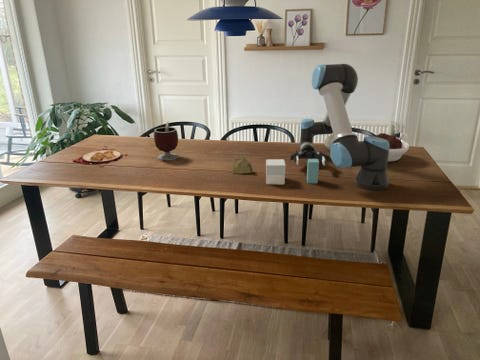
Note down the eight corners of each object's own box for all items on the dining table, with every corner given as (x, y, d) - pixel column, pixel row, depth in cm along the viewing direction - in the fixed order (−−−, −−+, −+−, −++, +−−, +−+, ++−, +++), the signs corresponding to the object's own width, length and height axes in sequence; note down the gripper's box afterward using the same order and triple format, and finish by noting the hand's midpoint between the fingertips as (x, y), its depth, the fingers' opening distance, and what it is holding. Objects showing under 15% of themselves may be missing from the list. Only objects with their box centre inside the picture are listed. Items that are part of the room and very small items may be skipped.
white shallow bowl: (399, 153, 231) (403, 128, 226) (412, 166, 208) (417, 139, 203) (357, 152, 234) (360, 128, 228) (365, 165, 211) (368, 139, 205)
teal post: (316, 179, 192) (317, 159, 188) (317, 183, 187) (319, 162, 183) (306, 179, 192) (307, 158, 188) (307, 183, 188) (308, 162, 184)
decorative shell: (346, 156, 226) (347, 140, 223) (318, 151, 237) (319, 135, 233) (357, 149, 240) (359, 133, 236) (331, 144, 250) (332, 129, 246)
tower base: (283, 178, 195) (284, 169, 193) (284, 184, 187) (284, 175, 185) (266, 177, 196) (266, 168, 194) (266, 184, 188) (266, 174, 186)
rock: (257, 166, 205) (241, 161, 210) (254, 157, 198) (238, 152, 202) (248, 182, 201) (232, 176, 205) (245, 173, 194) (228, 168, 198)
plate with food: (72, 163, 225) (71, 157, 223) (104, 150, 246) (103, 145, 244) (102, 169, 215) (101, 163, 213) (133, 155, 236) (132, 150, 234)
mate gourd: (177, 161, 223) (174, 127, 215) (153, 161, 223) (150, 127, 216) (181, 153, 237) (179, 121, 230) (159, 153, 237) (156, 121, 230)
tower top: (283, 168, 194) (284, 159, 192) (285, 175, 185) (285, 165, 184) (266, 168, 194) (266, 159, 192) (266, 175, 186) (266, 165, 184)
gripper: (329, 157, 217) (335, 169, 197) (285, 156, 219) (286, 169, 199) (330, 144, 214) (336, 156, 194) (285, 143, 216) (286, 155, 196)
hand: (311, 162), depth 197 cm, fingers open, 13 cm apart
